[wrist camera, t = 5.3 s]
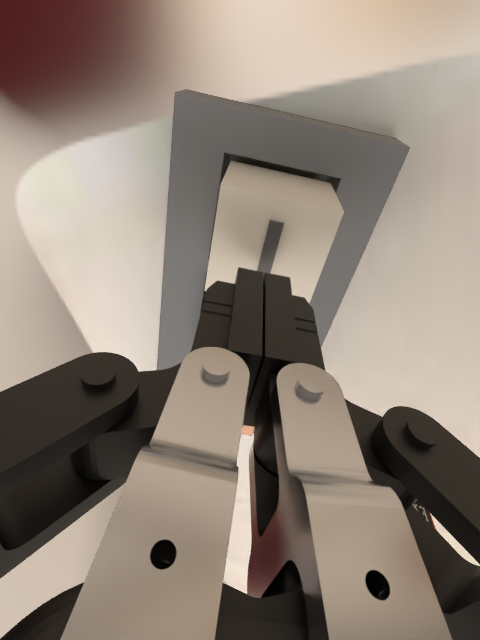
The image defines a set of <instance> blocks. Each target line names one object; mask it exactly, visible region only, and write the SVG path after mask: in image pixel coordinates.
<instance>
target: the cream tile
mask: <svg viewBox="0 0 480 640" xmlns="http://www.w3.org/2000/svg"><path fill="white" fill-rule="evenodd" d="M343 214H344V210H343V208H342V206H341V204H340V202H339V200H338V197H337V195H336V193H335V191H334V189H333V187H332V185H331V183H329V182H325V181H321V180H316V179H312V178H307V177H303V176H298V175H294V174H289V173H285V172H281V171H276V170H272V169H267V168H263V167H258V166H254V165H249V164H245V163H241V162H236V161H232V160H231V162H230V164H229V166H228V169H227V171H226V173H225V175H224V178H223V180H222V182H221V185H220V191H219V198H218V205H217V211H216V218H215V224H214V231H213V237H212V244H211V251H210V257H209V264H208V270H207V277H206V283H205V290H204V291H207V288H209V287H210V286H211V285H212V284H213V283H215V282H216V281H222V282H227V283H233V284H235V279H236V275H237V270H238V267H240V268H245V269H250V270H255V271H260V272H263V275H264V273H265V272H266V273H271V274H276V275H281V276H286V277H290V281H291V290H292V295H294V296H299V297H304V298H305V299H306V300H307V302H308V303H310V301H311V298H312V295H313V293H314V290H315V287H316V285H317V282H318V279H319V277H320V274H321V272H322V269H323V266H324V264H325V261H326V258H327V256H328V253H329V250H330V248H331V245H332V243H333V240H334V237H335V235H336V232H337V229H338V227H339V224H340V222H341V219H342V216H343Z"/></svg>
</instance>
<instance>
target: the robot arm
mask: <svg viewBox="0 0 480 640" xmlns="http://www.w3.org/2000/svg"><path fill="white" fill-rule="evenodd" d="M315 322H316V320H315V315H314V310H313V308H312V307H311V306H310V304H309V303H308V302H307V300H306V299H305V298H304V297H299V296H294V295H292V290H291V281H290V277H286V276H281V275H276V274H271V273H266V272H265V273H264V275H263V272H260V271H255V270H250V269H245V268H240V267H238V270H237V275H236V279H235V284H233V283H227V282H222V281H216V282H215V283H213V284H212V285H211V286H210V287H209V288H207V291H206V295H205V299H204V303H203V307H202V311H201V314H200V318H199V322H198V326H197V330H196V334H195V337H194V341H193V345H192V349H191V351H190V353H189V354H188V355H187V356H186V357H185V358H184V360H183V361H182V362H181V363H179V364H177V365H176V366H173V367H171V368H167V369H163V370H156V371H142V372H138V370H137V368H136V366H135V365H134V364H133V363H132V362H131V361H130V360H129V359H127V358H125V357H123V356H121V355H118V354H114V353H107V352H98V353H91V354H87V355H84V356H81V357H79V358H76V359H74V360H72V361H69V362H67V363H65V364H62V365H60V366H58V367H56V368H54V369H51V370H49V371H47V372H44V373H42V374H40V375H38V376H35V377H33V378H31V379H29V380H26V381H24V382H22V383H20V384H17V385H15V386H13V387H11V388H8V389H6V390H4V391H2V392H0V578H1V577H3V576H4V575H6V574H7V573H8V572H9V571H10V570H12V569H13V568H15V567H16V566H17V565H19V564H20V563H21V562H22V561H24V560H25V559H26V558H27V557H29V556H30V555H32V554H33V553H34V552H35V551H37V550H38V549H39V548H41V547H42V546H43V545H45V544H46V543H47V542H49V541H50V540H51V539H52V538H54V537H55V536H56V535H58V534H59V533H60V532H61V531H63V530H64V529H66V528H67V527H68V526H69V525H71V524H72V523H73V522H75V521H76V520H77V519H79V518H80V517H81V516H82V515H84V514H85V513H86V512H88V511H89V510H90V509H91V508H93V507H94V506H96V505H97V504H98V503H99V502H101V501H102V500H103V499H105V498H106V497H107V496H109V495H110V494H111V493H113V492H114V491H115V490H116V489H118V488H119V487H120V486H122V485H123V484H124V483H125V482H126V483H125V486H124V488H123V490H122V493H121V495H120V498H119V500H118V502H117V505H116V507H115V510H114V512H113V514H112V517H111V519H110V522H109V524H108V526H107V529H106V531H105V534H104V536H103V538H102V541H101V543H100V546H99V548H98V551H97V553H96V555H95V558H94V560H93V563H92V565H91V567H90V570H89V572H88V575H87V577H86V579H85V582H84V583H81V584H79V585H77V586H75V587H73V588H71V589H68V590H66V591H64V592H62V593H61V594H59V595H57V596H56V597H54V598H52V599H50V600H49V601H47V602H46V603H44V604H42V605H41V606H40V607H38V608H37V609H36V610H34V611H33V612H32V613H30V614H29V615H28V616H26V617H25V618H24V619H22V620H21V621H20V622H19V623H18V624H17V625H15V626H14V627H13V628H12V629H11V630H10V631H9V632H7V633H6V634H5V635H4V636H3V637H2V638H1V639H0V640H480V566H477V565H474V564H471V563H470V562H468V561H466V560H465V559H464V558H462V557H461V556H460V555H459V554H458V553H457V552H456V551H455V550H454V548H453V547H452V546H451V545H450V544H449V543H448V542H447V541H446V540H445V539H444V538H443V537H442V536H441V535H440V534H439V533H438V532H437V530H436V529H435V528H434V527H433V526H432V525H431V524H430V523H429V522H428V521H427V520H426V519H425V518H424V517H423V516H422V515H421V514H420V513H419V511H418V510H417V509H416V508H415V507H414V506H413V504H414V503H415V502H416V501H417V500H418V501H419V502H420V503H421V504H422V505H423V506H424V507H425V508H426V509H427V510H428V511H429V512H430V513H431V514H432V515H433V516H434V517H435V518H436V519H437V520H438V521H439V522H440V523H441V525H442V526H443V527H444V528H445V529H446V530H447V531H448V532H449V533H450V534H451V535H452V536H453V537H454V538H455V539H456V540H457V541H458V542H459V543H460V544H461V545H462V546H463V547H464V548H465V549H466V550H467V551H468V553H469V554H470V555H471V556H472V557H473V558H474V559H475V560H476V561H477V562H478V563H479V564H480V458H479V457H478V456H477V455H475V454H474V453H473V452H472V451H471V450H470V449H468V448H467V447H466V446H465V445H464V444H462V443H461V442H460V441H459V440H458V439H457V438H455V437H454V436H453V435H452V434H451V433H450V432H448V431H447V430H446V429H445V428H444V427H442V426H441V425H440V424H439V423H438V422H437V421H435V420H434V419H433V418H431V417H430V416H428V415H427V414H425V413H423V412H421V411H419V410H416V409H413V408H410V407H404V406H398V407H393V408H391V409H389V410H388V411H387V412H386V413H385V414H384V416H383V417H381V416H379V415H377V414H375V413H372V412H370V411H368V410H366V409H363V408H361V407H359V406H357V405H355V404H353V403H351V402H349V401H348V400H346V399H345V398H344V396H343V393H342V390H341V388H340V386H339V384H338V383H337V381H336V380H335V379H334V378H333V377H332V376H331V375H330V374H328V373H327V372H326V371H325V368H324V362H323V357H322V352H321V347H320V341H319V336H318V334H317V332H318V331H317V326H316V324H315ZM243 417H244V423H243ZM242 423H243V425H246V426H252V427H254V441H253V443H252V446H251V449H250V452H249V475H250V503H251V530H252V544H251V554H250V559H249V566H248V579H247V594H245V593H243V592H241V591H239V590H237V589H235V588H233V587H231V586H228V585H226V584H224V583H223V578H224V571H225V564H226V558H227V551H228V544H229V537H230V530H231V523H232V516H233V510H234V503H235V496H236V489H237V481H238V466H236V463H237V455H238V449H239V442H240V436H241V429H242Z"/></svg>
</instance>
